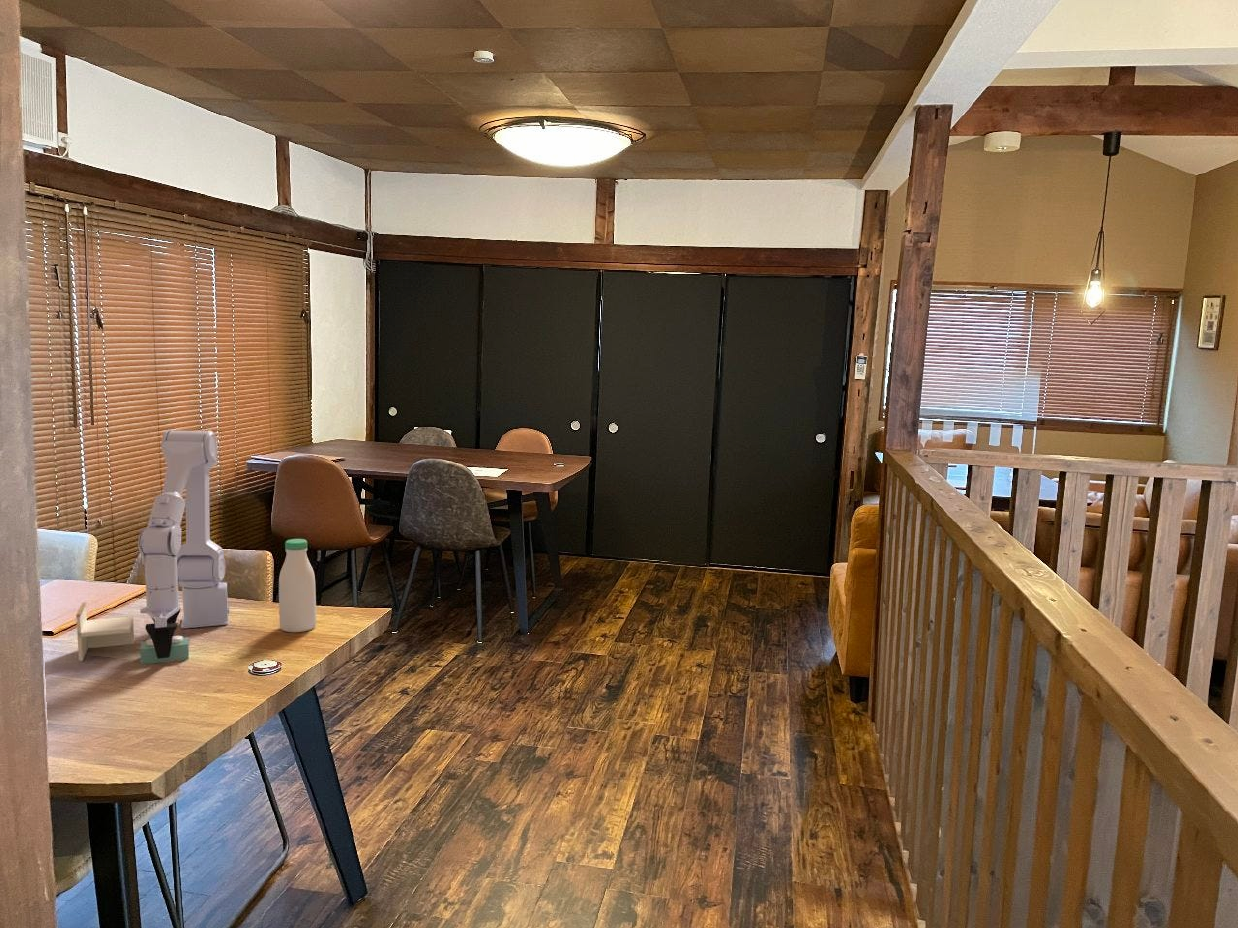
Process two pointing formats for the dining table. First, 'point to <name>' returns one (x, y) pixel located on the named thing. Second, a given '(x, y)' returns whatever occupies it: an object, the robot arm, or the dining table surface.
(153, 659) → the teal block
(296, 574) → the milk bottle
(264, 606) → the dining table surface
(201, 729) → the dining table surface
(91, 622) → the beige flanged peg
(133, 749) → the dining table surface
